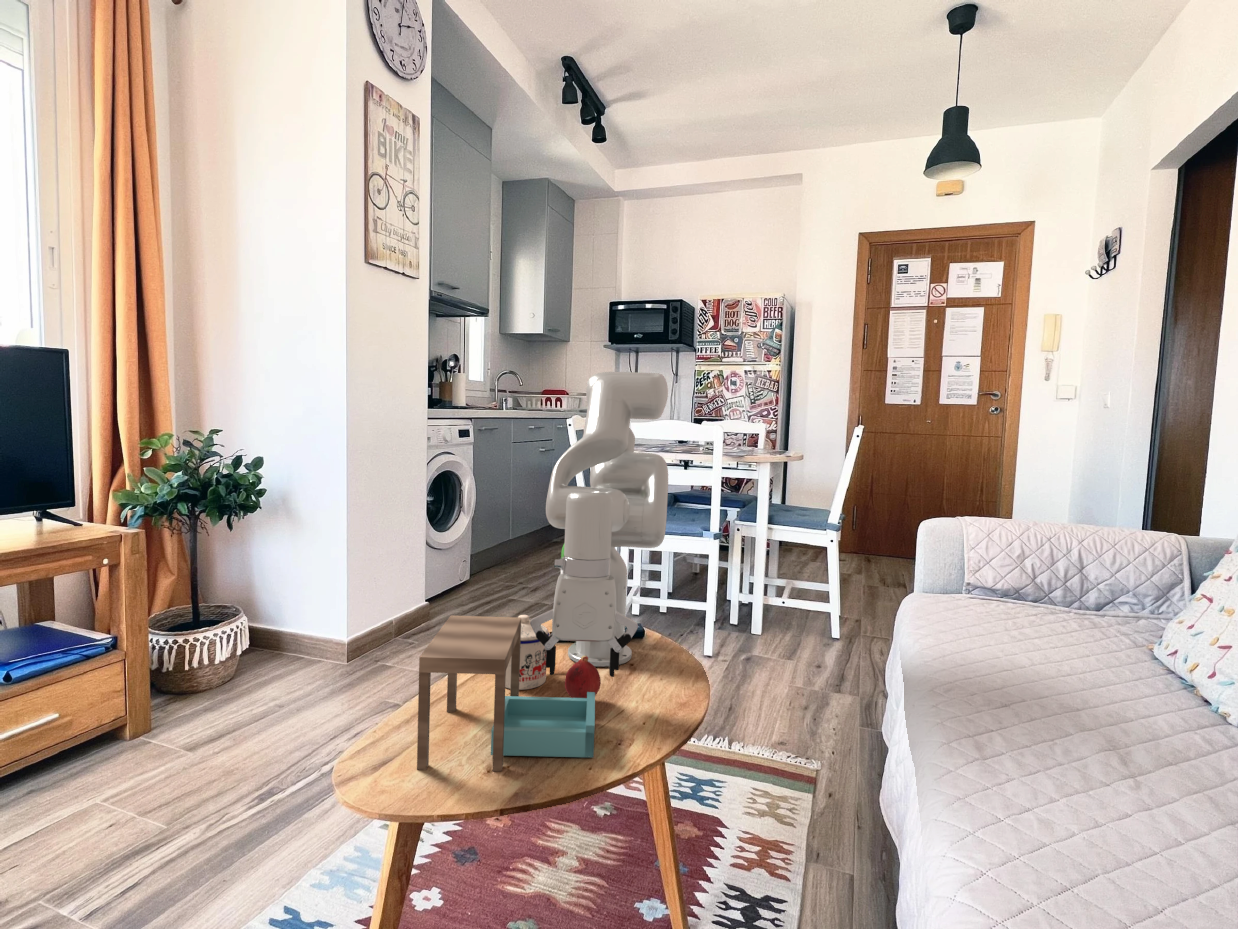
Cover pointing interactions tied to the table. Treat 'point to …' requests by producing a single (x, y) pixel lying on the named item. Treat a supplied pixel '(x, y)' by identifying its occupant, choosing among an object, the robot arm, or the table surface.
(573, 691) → the onion
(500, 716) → the wooden stool
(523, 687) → the teacup with lid
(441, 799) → the table surface
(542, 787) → the table surface
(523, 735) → the shelf tray
